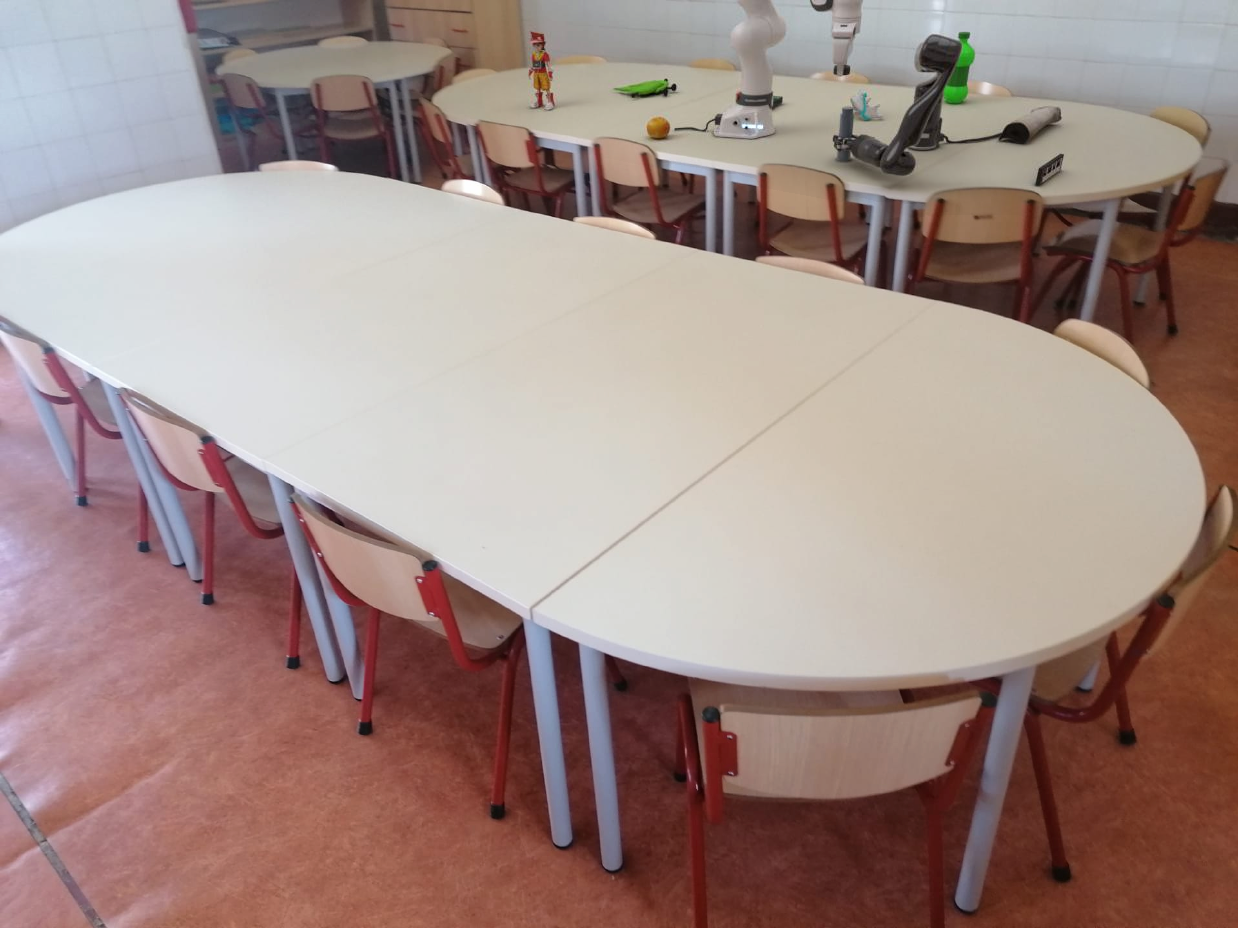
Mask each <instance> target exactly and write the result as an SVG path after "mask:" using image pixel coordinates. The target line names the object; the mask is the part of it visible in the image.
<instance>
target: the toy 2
mask: <svg viewBox="0 0 1238 928" xmlns="http://www.w3.org/2000/svg"><path fill="white" fill-rule="evenodd" d="M669 85H670V83H669V79H668V78H664V79H663V80H649V81H644V82H640V83H634V84H629V85H627V86H621V87H613V88H612V89H613V90H616V91H619V92H623V93H627V94H628V93H629V94H631V95H630V96H631V98H632V99H634V98H636V96H637V95H650V94H652V93H654V94H658V93H662V95H663V96H665V97H667V96H668V95H669V90H671V91H672V92H676V91H677V84H676V83H672V84H671V86H669Z"/></svg>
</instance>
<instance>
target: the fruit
mask: <svg viewBox="0 0 1238 928" xmlns="http://www.w3.org/2000/svg"><path fill="white" fill-rule="evenodd" d="M670 125H671V124H670V122H669V121H668V120H667V119H666V118H665V117H662V116H656V117H653V118H651V119H650V120H649V121H648V122H647V124H646V132H647V134H648V136H649V137H651V138H653V139H663V138H665V137H667V136H668V135H669V133H670V131H671V126H670Z"/></svg>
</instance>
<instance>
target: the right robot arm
mask: <svg viewBox="0 0 1238 928" xmlns="http://www.w3.org/2000/svg"><path fill="white" fill-rule="evenodd" d="M961 52H962V42H961V41H959V39H955V38H952V37H948V36H945V35H941V34H937V33H932V34H929V35H928V36H927V37H926V38H925V40H924V41H922V42H920V43H919V44H918V45H917V48H916V49H915V54H914V61H913V63H914V67H915V70H916V71H917V72H918V73H925V74H926V73H927V74H928V73H929V74H930V73H935V75H934V76H933V77H931V78H930V79H927V80H924V81H922V82H919V83H918V84H916V85H915V88H914V96H913V103H912V104H911V105H910V106H909V107H908V109H907V110H906V111H905V112H904V115H903V117H902V119H901V123H900V125H899V127H898V130H897V133H896V135H895V136H894V137H893V139H891V142H890V143H889V144H886V143H884V142H882V141H880V140H879V139H877V138H876V137H874V136H871V135H868V134H862V133H861V134H859V135H858V134H854V133H853V134H852V138H848V137H845V138H842V137H840V136H839V135H837V134H833V136H832V142H833V148H834V149H835V150H836V152H837V151H841V150H842V148H843V149H846V150H849V151H851V155H852V156H853V157H854V158H855V159H857V160H860V161H861V162H863V163H866V164H869V165H872V166H873V167H877V168H879V169H880V170H881V172H882V173H883V174H885V175H890V176H891V175H892V176H898V177H906V176H909V175H910V174H912V173H913V172H914V170H915V169H916V165H917V162H916V161H917V160H916V157H915V155H914V154H913V153H911V152H909V151H908V150H906V149H907V148H909V149H911V150H915V151H930V150H931V151H932V150H934V149H936V148H938V147H939V145H940V142H944V141H945V142H946V143H948V144H965V143H973V142H980V141H985V140H986V141H987V140H990V139H994V138H999V137H1000V135H1001V134H1002V132H1003V131H1001V132H998V133H996V134H992V135H987V136H983V137H976V138H966V139H962V140H950V139H949V137H948V136H947V135H946V134H945V133H943V132H942V127H943V126H942V124H943V117H941V116H942V115H941V114H942V108H943V101H944V97H943V94H944V89H945V87H946V85H947V83H948V81H949V79H950V77H951V75H952V73H953V71H954V69H955V67H956V65H957V63H958V61H959V58H960V55H961ZM842 141H843V144H842Z"/></svg>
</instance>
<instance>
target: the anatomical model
mask: <svg viewBox="0 0 1238 928" xmlns="http://www.w3.org/2000/svg"><path fill="white" fill-rule="evenodd" d="M866 98H867V99H866ZM871 99H872V98H871V97H869V98H868V95H867V92H865V91H864V90H863V89H860V90H859V91H858V93H857V94H855V95H852V96H851V97H850V99H849V100H850V103H851V107H854V110H853V111H855V112H857V113H860V115H861V117H862V119H863V120H864V121H871V120H872V119H883V117H885V115H884V114H879V113H878V111H877V110H878V109H879V107H880V106H881V104H876V105H873V106H872V105H871V106H869V103H870V101H871Z"/></svg>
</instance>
